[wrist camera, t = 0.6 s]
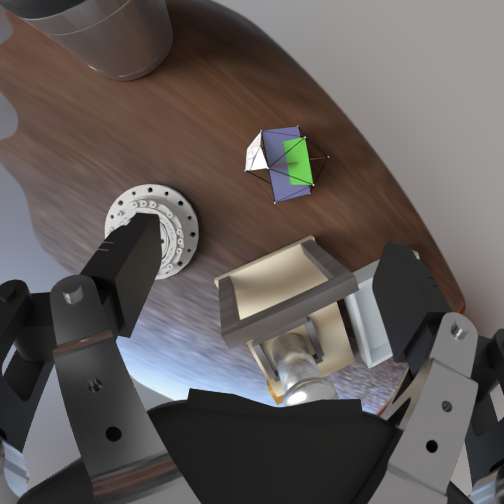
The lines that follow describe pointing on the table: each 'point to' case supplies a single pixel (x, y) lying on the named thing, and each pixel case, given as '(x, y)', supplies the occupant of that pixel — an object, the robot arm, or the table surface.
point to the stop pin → (299, 371)
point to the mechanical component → (171, 222)
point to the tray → (368, 318)
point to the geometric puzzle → (283, 162)
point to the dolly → (288, 307)
